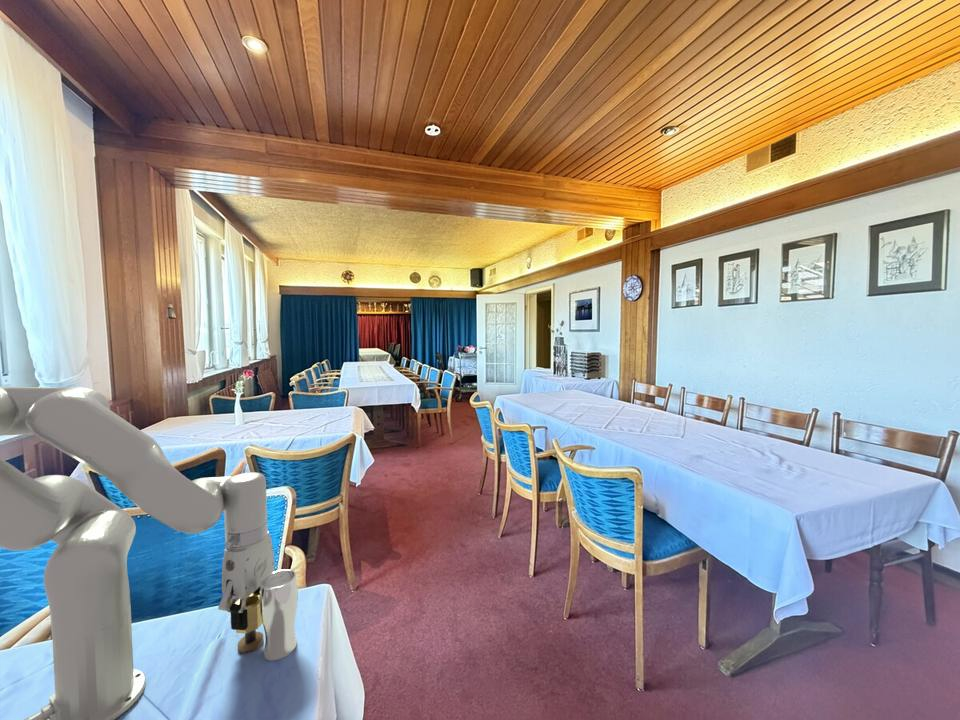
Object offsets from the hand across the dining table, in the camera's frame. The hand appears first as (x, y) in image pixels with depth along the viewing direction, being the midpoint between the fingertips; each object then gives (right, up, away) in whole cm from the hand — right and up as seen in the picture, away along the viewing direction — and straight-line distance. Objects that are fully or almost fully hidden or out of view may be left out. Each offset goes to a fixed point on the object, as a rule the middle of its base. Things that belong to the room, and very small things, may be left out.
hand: (249, 617), depth 79 cm
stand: (0, -6, 0) cm, 6 cm away
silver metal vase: (+7, -6, -1) cm, 9 cm away
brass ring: (0, -1, 0) cm, 1 cm away
